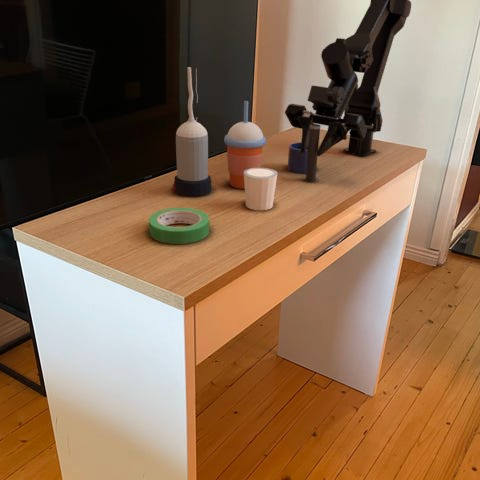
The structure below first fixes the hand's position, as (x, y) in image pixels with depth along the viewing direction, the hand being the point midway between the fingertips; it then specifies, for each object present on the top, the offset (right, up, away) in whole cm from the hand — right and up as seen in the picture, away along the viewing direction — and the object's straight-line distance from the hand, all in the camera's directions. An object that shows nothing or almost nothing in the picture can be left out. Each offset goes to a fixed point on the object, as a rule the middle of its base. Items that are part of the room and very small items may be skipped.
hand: (309, 153), depth 129 cm
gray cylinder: (+1, -5, +4) cm, 7 cm away
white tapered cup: (-12, -14, -10) cm, 20 cm away
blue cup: (-1, 0, +12) cm, 12 cm away
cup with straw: (-15, -7, +1) cm, 16 cm away
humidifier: (-26, -9, -3) cm, 28 cm away
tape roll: (-27, -21, -22) cm, 41 cm away
